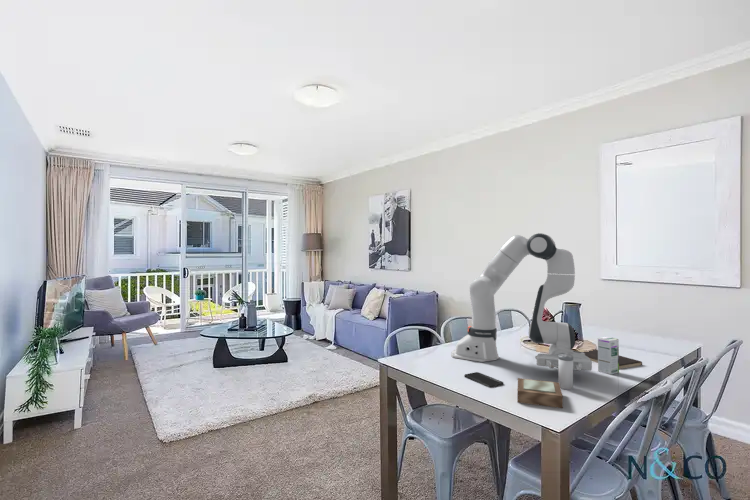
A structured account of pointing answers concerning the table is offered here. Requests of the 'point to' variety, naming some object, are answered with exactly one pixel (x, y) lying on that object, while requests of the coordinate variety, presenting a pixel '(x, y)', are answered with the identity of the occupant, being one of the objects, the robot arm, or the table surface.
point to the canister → (565, 371)
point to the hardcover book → (623, 361)
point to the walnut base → (539, 393)
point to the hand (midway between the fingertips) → (565, 367)
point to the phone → (483, 379)
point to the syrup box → (608, 355)
